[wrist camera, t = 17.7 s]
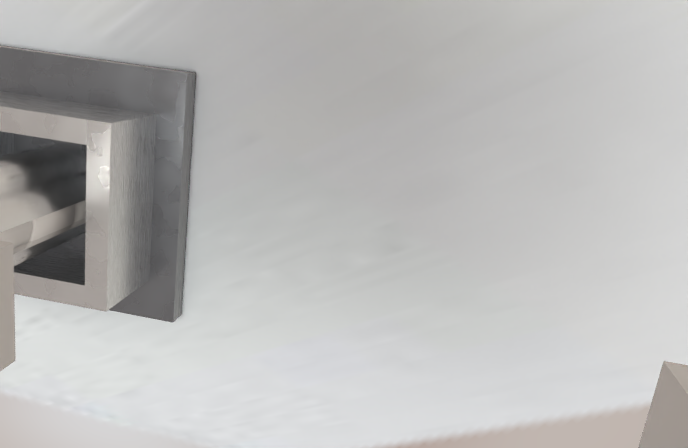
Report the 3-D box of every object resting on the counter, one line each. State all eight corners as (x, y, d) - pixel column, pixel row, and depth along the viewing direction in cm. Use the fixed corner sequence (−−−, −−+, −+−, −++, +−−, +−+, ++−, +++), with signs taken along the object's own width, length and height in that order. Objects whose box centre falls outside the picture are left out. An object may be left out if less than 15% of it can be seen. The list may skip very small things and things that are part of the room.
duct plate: (-18, 42, 45) (-107, 39, 38) (195, 72, 43) (145, 75, 36) (-11, 278, 50) (-88, 314, 43) (181, 314, 48) (134, 359, 41)
